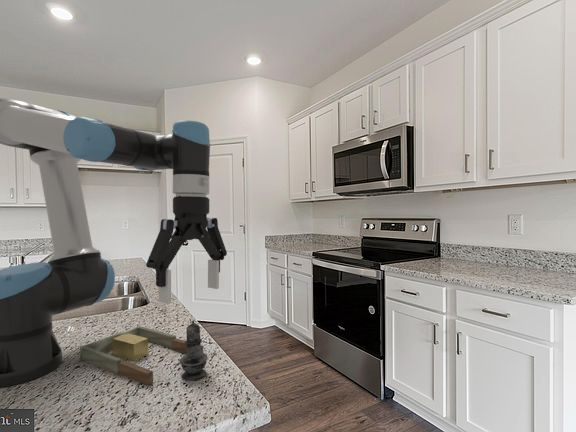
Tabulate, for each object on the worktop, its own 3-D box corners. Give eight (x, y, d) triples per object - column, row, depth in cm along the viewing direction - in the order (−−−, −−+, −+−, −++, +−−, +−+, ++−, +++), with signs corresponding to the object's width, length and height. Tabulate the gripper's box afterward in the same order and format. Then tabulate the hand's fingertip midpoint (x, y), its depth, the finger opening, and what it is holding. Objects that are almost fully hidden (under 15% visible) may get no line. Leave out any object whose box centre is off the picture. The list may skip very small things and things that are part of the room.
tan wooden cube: (134, 360, 77) (133, 344, 77) (123, 357, 79) (123, 341, 79) (148, 354, 81) (148, 338, 81) (137, 351, 83) (137, 335, 83)
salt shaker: (197, 366, 74) (196, 313, 74) (213, 373, 70) (212, 319, 70) (174, 376, 70) (173, 321, 69) (190, 385, 66) (189, 327, 66)
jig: (146, 386, 66) (146, 371, 66) (80, 359, 78) (80, 346, 78) (204, 355, 79) (204, 343, 79) (139, 336, 92) (139, 326, 92)
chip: (123, 357, 79) (122, 341, 79) (112, 354, 81) (112, 338, 81) (137, 351, 83) (137, 335, 83) (127, 348, 85) (126, 333, 84)
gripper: (152, 193, 57) (152, 313, 57) (241, 197, 78) (241, 285, 79) (126, 193, 60) (126, 306, 61) (218, 197, 82) (218, 281, 83)
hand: (191, 294), depth 70 cm, fingers open, 13 cm apart
